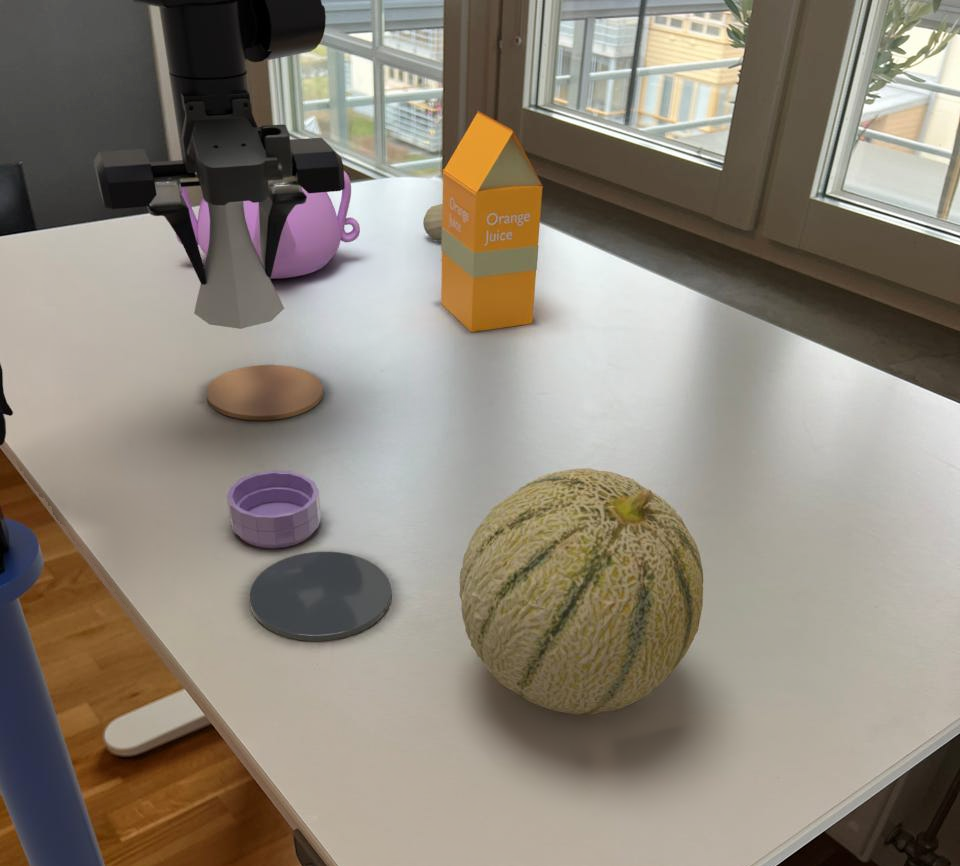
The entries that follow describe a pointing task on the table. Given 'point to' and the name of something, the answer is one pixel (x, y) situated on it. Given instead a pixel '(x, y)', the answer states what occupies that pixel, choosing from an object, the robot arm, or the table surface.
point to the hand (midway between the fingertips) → (235, 279)
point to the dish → (274, 508)
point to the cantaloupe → (582, 591)
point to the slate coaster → (320, 596)
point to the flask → (234, 274)
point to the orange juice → (490, 229)
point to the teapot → (293, 231)
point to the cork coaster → (264, 392)
